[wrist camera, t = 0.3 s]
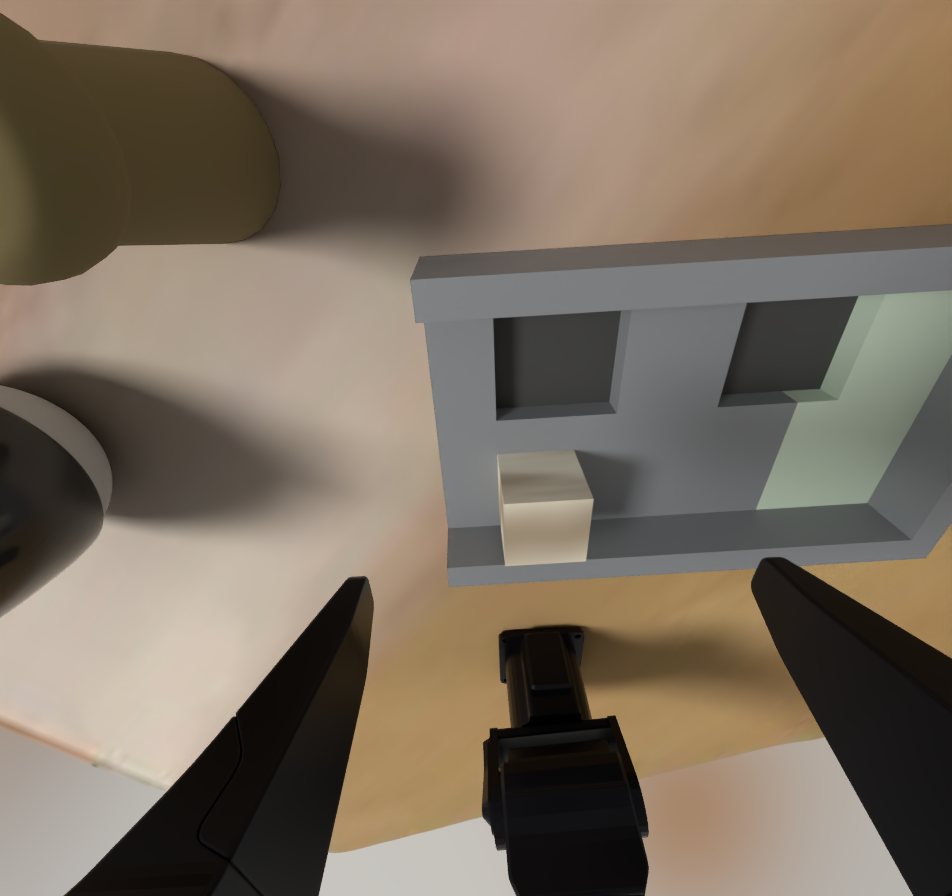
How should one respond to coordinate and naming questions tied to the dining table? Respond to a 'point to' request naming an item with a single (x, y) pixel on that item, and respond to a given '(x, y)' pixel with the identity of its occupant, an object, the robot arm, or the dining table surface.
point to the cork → (121, 155)
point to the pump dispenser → (45, 493)
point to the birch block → (543, 508)
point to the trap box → (700, 397)
